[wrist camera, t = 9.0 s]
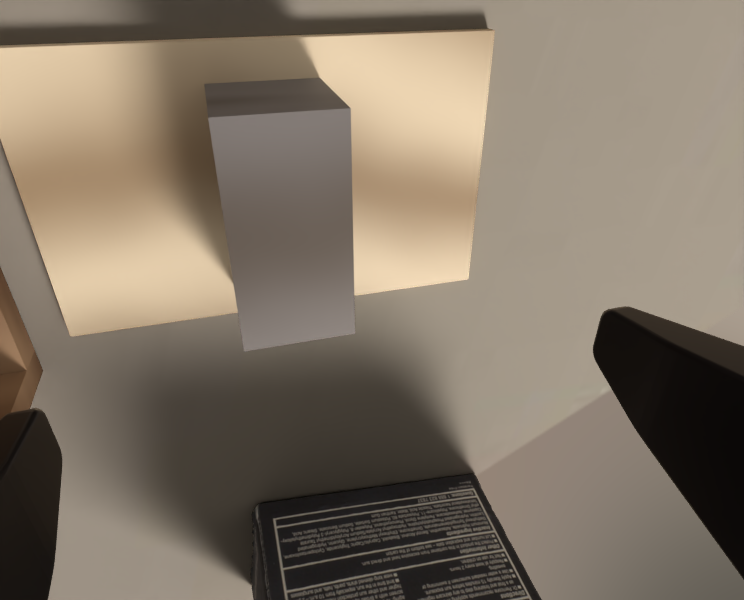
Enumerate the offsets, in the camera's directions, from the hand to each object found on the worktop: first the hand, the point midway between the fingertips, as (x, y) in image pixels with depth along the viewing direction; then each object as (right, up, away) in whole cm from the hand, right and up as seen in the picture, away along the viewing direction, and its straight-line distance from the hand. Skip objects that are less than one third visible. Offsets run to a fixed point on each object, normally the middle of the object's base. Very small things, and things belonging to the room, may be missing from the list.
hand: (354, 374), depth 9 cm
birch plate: (-3, +5, +8) cm, 10 cm away
